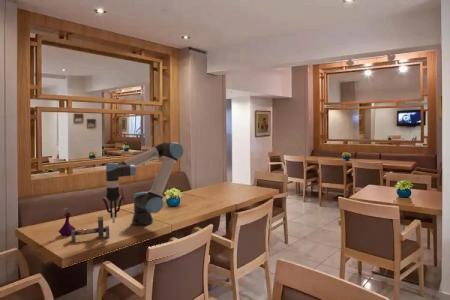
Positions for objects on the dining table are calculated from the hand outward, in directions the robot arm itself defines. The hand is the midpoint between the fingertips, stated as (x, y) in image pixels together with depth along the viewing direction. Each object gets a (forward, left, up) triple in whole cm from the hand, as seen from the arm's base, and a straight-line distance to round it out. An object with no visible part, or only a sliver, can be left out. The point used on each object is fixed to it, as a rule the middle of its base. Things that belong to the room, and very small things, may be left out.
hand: (113, 222), depth 205 cm
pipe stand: (+14, 0, -9) cm, 17 cm away
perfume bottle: (+29, -15, -9) cm, 34 cm away
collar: (+8, 0, -9) cm, 12 cm away
